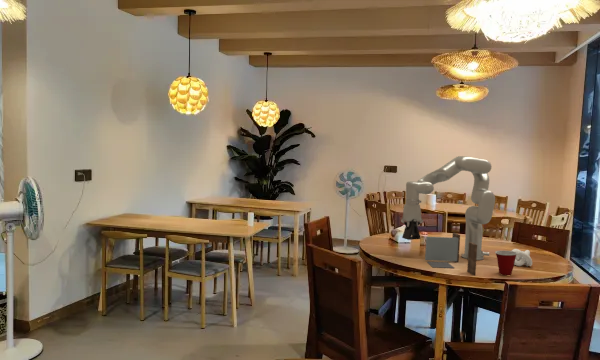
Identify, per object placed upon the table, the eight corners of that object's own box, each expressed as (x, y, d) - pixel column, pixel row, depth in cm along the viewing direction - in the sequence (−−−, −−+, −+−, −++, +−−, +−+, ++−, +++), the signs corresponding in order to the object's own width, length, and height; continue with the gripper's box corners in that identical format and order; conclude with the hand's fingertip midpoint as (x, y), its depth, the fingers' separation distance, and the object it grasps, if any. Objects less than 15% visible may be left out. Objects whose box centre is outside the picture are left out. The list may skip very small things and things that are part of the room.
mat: (447, 263, 253) (447, 262, 253) (454, 268, 241) (454, 267, 241) (426, 262, 253) (426, 261, 253) (432, 267, 241) (432, 266, 241)
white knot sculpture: (512, 261, 262) (513, 246, 262) (535, 265, 255) (536, 250, 254) (507, 265, 254) (508, 249, 253) (530, 269, 246) (531, 253, 245)
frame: (454, 259, 263) (455, 232, 262) (475, 275, 228) (477, 244, 227) (450, 259, 263) (452, 232, 262) (471, 275, 228) (473, 244, 227)
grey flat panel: (457, 261, 254) (458, 238, 253) (425, 260, 254) (426, 236, 253) (455, 260, 256) (457, 237, 255) (424, 259, 256) (425, 236, 255)
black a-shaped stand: (407, 239, 258) (408, 219, 257) (402, 238, 264) (402, 218, 263) (420, 238, 261) (421, 218, 261) (414, 237, 267) (415, 217, 266)
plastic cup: (493, 270, 240) (494, 248, 239) (515, 273, 236) (516, 250, 235) (494, 275, 230) (495, 252, 229) (517, 278, 226) (518, 255, 225)
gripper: (424, 201, 264) (424, 231, 266) (397, 201, 265) (396, 231, 266) (427, 203, 257) (427, 234, 258) (399, 203, 257) (399, 234, 259)
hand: (411, 232), depth 262 cm, fingers closed on black a-shaped stand, 3 cm apart
